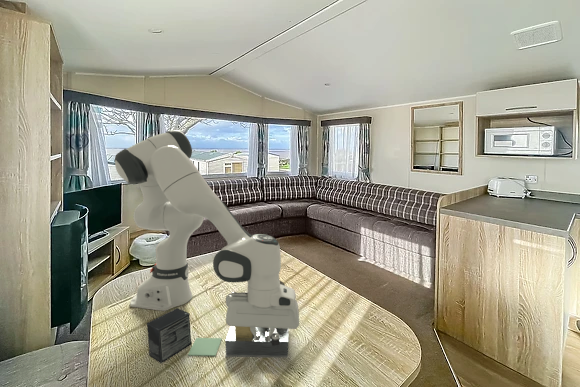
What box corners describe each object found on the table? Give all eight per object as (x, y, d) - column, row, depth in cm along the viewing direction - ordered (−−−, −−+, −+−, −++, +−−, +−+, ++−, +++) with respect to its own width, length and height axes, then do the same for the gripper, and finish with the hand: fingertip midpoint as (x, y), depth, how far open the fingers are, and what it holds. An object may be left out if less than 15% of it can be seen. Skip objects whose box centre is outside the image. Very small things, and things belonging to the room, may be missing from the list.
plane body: (225, 356, 91) (225, 341, 90) (230, 341, 98) (230, 326, 97) (288, 358, 90) (288, 342, 90) (288, 342, 98) (288, 327, 97)
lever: (272, 349, 86) (272, 338, 85) (267, 332, 94) (267, 321, 93) (280, 348, 86) (280, 337, 86) (274, 331, 94) (274, 320, 94)
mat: (187, 355, 91) (187, 354, 91) (196, 338, 99) (196, 337, 99) (215, 356, 91) (215, 355, 91) (221, 339, 99) (221, 338, 99)
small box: (179, 337, 100) (177, 306, 98) (192, 344, 96) (191, 313, 94) (147, 355, 91) (145, 322, 89) (161, 364, 87) (159, 329, 86)
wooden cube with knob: (235, 337, 91) (234, 323, 91) (238, 327, 96) (237, 313, 96) (252, 337, 91) (252, 323, 91) (254, 328, 96) (254, 314, 96)
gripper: (223, 297, 83) (223, 345, 85) (300, 300, 83) (298, 348, 85) (228, 286, 89) (227, 331, 91) (300, 289, 89) (298, 334, 91)
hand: (262, 339), depth 88 cm, fingers closed
